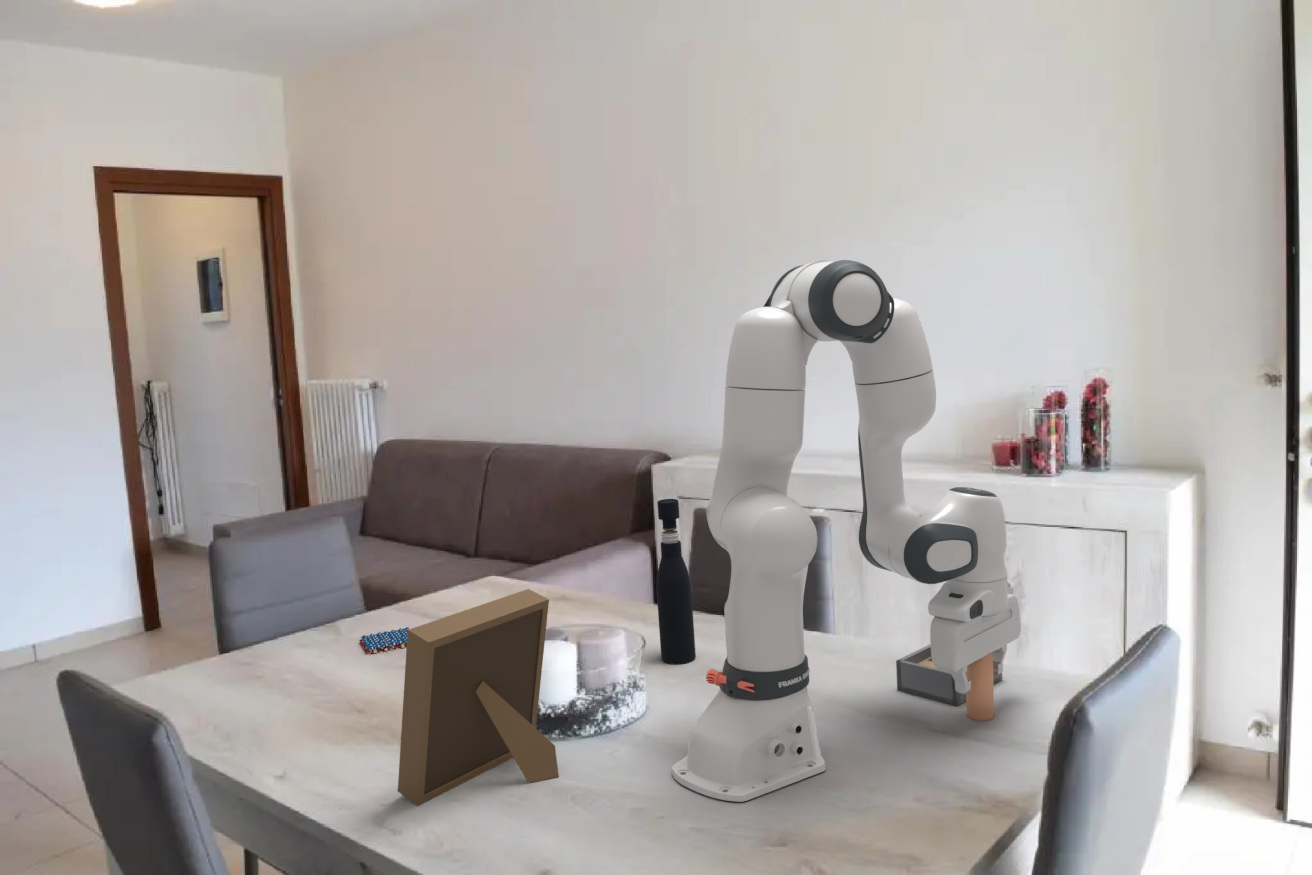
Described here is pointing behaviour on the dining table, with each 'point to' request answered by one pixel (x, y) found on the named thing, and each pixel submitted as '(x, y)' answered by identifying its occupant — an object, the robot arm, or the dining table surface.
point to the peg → (980, 689)
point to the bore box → (929, 678)
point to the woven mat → (384, 641)
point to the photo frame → (474, 697)
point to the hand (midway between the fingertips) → (979, 682)
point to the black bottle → (674, 592)
